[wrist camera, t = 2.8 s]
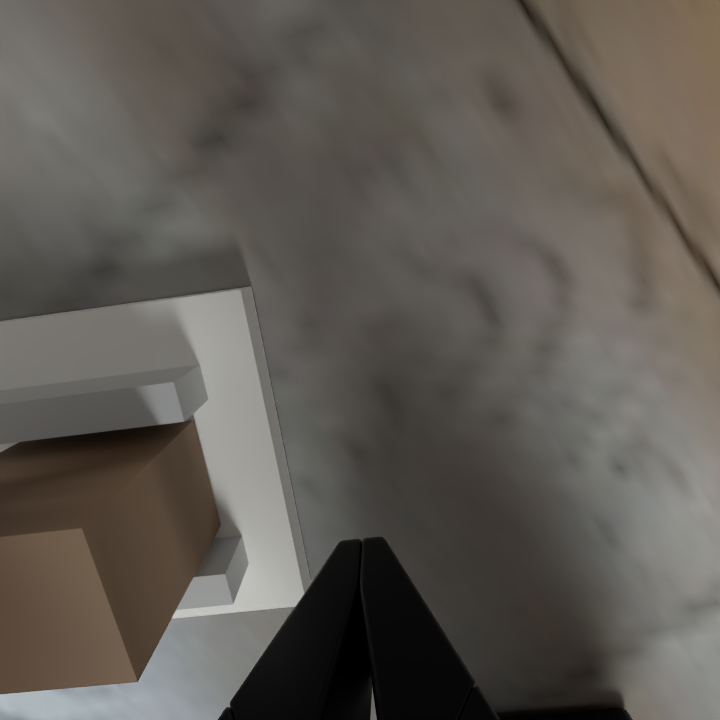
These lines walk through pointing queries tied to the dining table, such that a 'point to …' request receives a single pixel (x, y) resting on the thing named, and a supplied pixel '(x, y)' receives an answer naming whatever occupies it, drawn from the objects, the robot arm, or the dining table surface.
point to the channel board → (173, 421)
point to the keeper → (97, 551)
